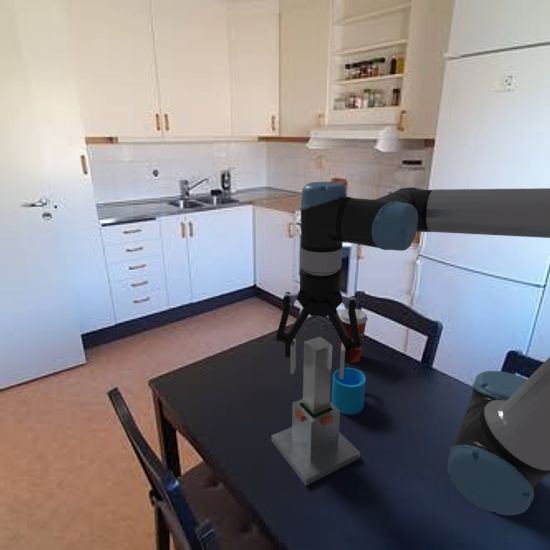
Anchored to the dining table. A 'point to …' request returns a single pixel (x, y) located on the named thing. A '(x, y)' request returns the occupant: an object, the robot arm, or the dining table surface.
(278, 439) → the stand base
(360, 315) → the coffee cup
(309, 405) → the column
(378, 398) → the dining table surface
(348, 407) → the mug
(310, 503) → the dining table surface
